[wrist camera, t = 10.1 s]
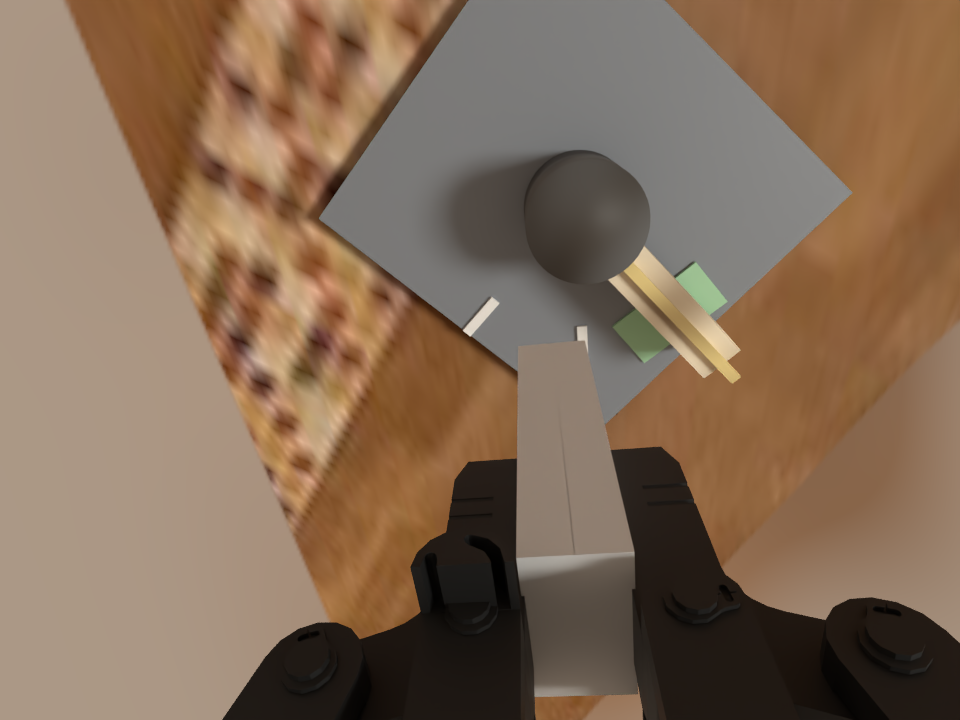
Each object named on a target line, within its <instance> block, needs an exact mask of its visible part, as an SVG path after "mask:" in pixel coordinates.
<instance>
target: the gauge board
mask: <svg viewBox="0 0 960 720" xmlns="http://www.w3.org/2000/svg"><path fill="white" fill-rule="evenodd" d="M573 150H589V151H594V152H597V153H600V154H602V155H604V156H606V157H608V158H609V159H611V160H612V161H614V162H615V163H616V164H618V165H619V166H621V167H622V168H623V169H625V170H626V171H627V172H629V173H630V174H631V175H632V176H633V177H634V178H635V179H636V180H637V181H638V182H639V184H640V185H641V187H642V188H643V190H644V192H645V194H646V197H647V199H648V203H649V207H650V216H651V217H650V229H649V234H648V237H647V240H646V243H645V247H646V248H647V249H648V250H649V251H650V252H651V253H652V254H653V255H654V256H655V257H656V258H657V259H658V260H659V262H660V263H661V264H662V265H663V266H664V267H665V268H666V269H667V270H668V271H669V272H670V273H671V274H672V275H673V277H674V278H675V279H676V280H677V281H678V282H679V283H680V284H681V285H682V286H683V287H684V288H685V289H686V290H687V292H688V293H689V294H690V295H691V296H692V297H693V298H694V299H695V300H696V301H697V302H698V303H699V304H700V305H701V307H702V308H703V309H704V310H705V311H706V312H707V313H708V314H709V315H710V316H711V317H712V318H713V319H714V320H715V321H716V320H717V319H718V318H719V317H720V316H721V315H722V314H724V313H725V312H726V311H727V310H728V309H729V308H730V307H731V306H732V305H733V304H734V303H735V302H736V301H737V300H739V299H740V298H741V297H742V296H743V295H744V294H745V293H746V292H747V291H748V290H749V289H750V288H751V287H752V286H753V285H755V284H756V283H757V282H758V281H759V280H760V279H761V278H762V277H763V276H764V275H765V274H766V273H767V272H768V271H769V270H771V269H772V268H773V267H774V266H775V265H776V264H777V263H778V262H779V261H780V260H781V259H782V258H783V257H784V256H785V255H787V254H788V253H789V252H790V251H791V250H792V249H793V248H794V247H795V246H796V245H797V244H798V243H799V242H800V241H802V240H803V239H804V238H805V237H806V236H807V235H808V234H809V233H810V232H811V231H812V230H813V229H814V228H815V227H816V226H818V225H819V224H820V223H821V222H822V221H823V220H824V219H825V218H826V217H827V216H828V215H829V214H830V213H831V212H832V211H834V210H835V209H836V208H837V207H838V206H839V205H840V204H841V203H842V202H843V201H844V200H845V199H846V198H847V197H848V196H850V195H851V194H852V192H851V191H850V190H849V189H848V188H847V187H846V185H845V184H844V183H843V182H842V181H841V180H840V179H839V178H838V177H837V176H836V175H835V174H834V173H833V172H832V171H831V170H830V169H829V168H828V167H827V166H826V165H825V164H824V163H823V162H822V161H821V160H820V159H819V158H818V157H817V156H816V155H815V154H814V153H813V152H812V151H811V150H810V149H809V148H808V147H807V146H806V145H805V144H804V142H803V141H802V140H801V139H800V138H799V137H798V136H797V135H796V134H795V133H794V132H793V131H792V130H791V129H790V128H789V127H788V126H787V125H786V124H785V123H784V122H783V121H782V120H781V119H780V118H779V117H778V116H777V115H776V114H775V113H774V112H773V111H772V110H771V109H770V108H769V107H768V106H767V105H766V104H765V103H764V102H763V100H762V99H761V98H760V97H759V96H758V95H757V94H756V93H755V92H754V91H753V90H752V89H751V88H750V87H749V86H748V85H747V84H746V83H745V82H744V81H743V80H742V79H741V78H740V77H739V76H738V75H737V74H736V73H735V72H734V71H733V70H732V69H731V68H730V67H729V66H728V65H727V64H726V63H725V62H724V61H723V60H722V59H721V57H720V56H719V55H718V54H717V53H716V52H715V51H714V50H713V49H712V48H711V47H710V46H709V45H708V44H707V43H706V42H705V41H704V40H703V39H702V38H701V37H700V36H699V35H698V34H697V33H696V32H695V31H694V30H693V29H692V28H691V27H690V26H689V25H688V24H687V23H686V22H685V21H684V20H683V19H682V18H681V17H680V15H679V14H678V13H677V12H676V11H675V10H674V9H673V8H672V7H671V6H670V5H669V4H668V3H667V2H666V1H665V0H468V2H467V3H466V5H465V6H464V8H463V9H462V10H461V12H460V13H459V15H458V16H457V18H456V19H455V21H454V22H453V24H452V25H451V26H450V28H449V29H448V31H447V32H446V34H445V35H444V37H443V38H442V40H441V41H440V42H439V44H438V45H437V47H436V48H435V50H434V51H433V53H432V54H431V56H430V57H429V58H428V60H427V61H426V63H425V64H424V66H423V67H422V69H421V70H420V72H419V73H418V75H417V76H416V77H415V79H414V80H413V82H412V83H411V85H410V86H409V88H408V89H407V91H406V92H405V93H404V95H403V96H402V98H401V99H400V101H399V102H398V104H397V105H396V107H395V108H394V109H393V111H392V112H391V114H390V115H389V117H388V118H387V120H386V121H385V123H384V124H383V125H382V127H381V128H380V130H379V131H378V133H377V134H376V136H375V137H374V139H373V140H372V141H371V143H370V144H369V146H368V147H367V149H366V150H365V152H364V153H363V155H362V156H361V157H360V159H359V160H358V162H357V163H356V165H355V166H354V168H353V169H352V171H351V172H350V173H349V175H348V176H347V178H346V179H345V181H344V182H343V184H342V185H341V187H340V188H339V189H338V191H337V192H336V194H335V195H334V197H333V198H332V200H331V201H330V203H329V204H328V205H327V207H326V208H325V210H324V211H323V213H322V214H321V216H320V217H319V219H320V220H321V221H322V222H324V223H325V224H326V225H327V226H329V227H330V228H331V229H333V230H334V231H335V232H337V233H338V234H339V235H340V236H342V237H343V238H344V239H346V240H347V241H348V242H350V243H351V244H352V245H353V246H355V247H356V248H357V249H359V250H360V251H361V252H363V253H364V254H365V255H366V256H368V257H369V258H370V259H372V260H373V261H374V262H376V263H377V264H378V265H379V266H381V267H382V268H383V269H385V270H386V271H387V272H389V273H390V274H391V275H393V276H394V277H395V278H396V279H398V280H399V281H400V282H402V283H403V284H404V285H406V286H407V287H408V288H409V289H411V290H412V291H413V292H415V293H416V294H417V295H419V296H420V297H421V298H422V299H424V300H425V301H426V302H428V303H429V304H430V305H432V306H433V307H434V308H435V309H437V310H438V311H439V312H441V313H442V314H443V315H445V316H446V317H447V318H448V319H450V320H451V321H452V322H454V323H455V324H456V325H458V326H459V327H460V328H461V329H463V331H464V332H465V333H466V334H468V335H469V336H472V337H473V338H475V339H476V340H477V341H478V342H480V343H481V344H482V345H484V346H485V347H486V348H488V349H489V350H490V351H491V352H493V353H494V354H495V355H497V356H498V357H499V358H501V359H502V360H503V361H504V362H506V363H507V364H508V365H510V366H511V367H512V368H514V369H515V370H516V371H517V372H518V346H527V345H538V344H549V343H560V342H571V341H582V340H585V343H586V347H587V352H588V356H589V360H590V364H591V369H592V373H593V377H594V381H595V386H596V390H597V394H598V399H599V403H600V407H601V411H602V416H603V420H604V424H606V423H607V422H608V421H609V420H610V419H611V418H612V417H614V416H615V415H616V414H617V413H618V412H619V411H620V410H621V409H622V408H623V407H624V406H625V405H626V404H627V403H629V402H630V401H631V400H632V399H633V398H634V397H635V396H636V395H637V394H638V393H639V392H640V391H641V390H642V389H643V388H645V387H646V386H647V385H648V384H649V383H650V382H651V381H652V380H653V379H654V378H655V377H656V376H657V375H658V374H659V373H661V372H662V371H663V370H664V369H665V368H666V367H667V366H668V365H669V364H670V363H671V362H672V361H673V360H674V359H675V358H677V357H678V356H679V355H680V353H679V352H678V351H677V350H676V349H675V348H674V347H673V346H672V345H671V344H670V343H669V342H668V341H667V340H666V339H665V338H664V337H663V336H662V335H661V334H660V333H659V332H658V331H657V330H656V328H655V327H654V326H653V325H652V324H651V323H650V322H649V321H648V320H647V319H646V318H645V317H644V316H643V315H642V314H641V313H640V312H639V311H638V310H637V309H636V308H635V307H634V306H633V305H632V304H631V303H630V302H629V301H628V300H627V299H626V298H625V297H624V296H623V295H622V294H621V293H620V292H619V291H618V290H617V289H616V287H615V286H614V285H613V284H612V283H611V282H610V281H609V280H606V281H603V282H599V283H594V284H574V283H569V282H566V281H563V280H560V279H558V278H556V277H554V276H553V275H551V274H550V273H548V272H547V271H546V270H545V269H543V268H542V267H541V265H540V264H539V263H538V262H537V261H536V259H535V258H534V256H533V254H532V252H531V250H530V248H529V245H528V242H527V237H526V230H525V218H524V199H525V194H526V191H527V188H528V185H529V183H530V181H531V179H532V178H533V176H534V174H535V173H536V172H537V171H538V169H539V168H540V167H541V166H542V165H543V164H545V163H546V162H547V161H548V160H550V159H551V158H553V157H555V156H557V155H559V154H562V153H564V152H568V151H573Z"/></svg>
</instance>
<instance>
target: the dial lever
mask: <svg viewBox="0 0 960 720" xmlns="http://www.w3.org/2000/svg"><path fill="white" fill-rule="evenodd" d="M650 217H651V216H650V207H649V203H648V199H647V197H646V194H645V192H644V190H643V188H642V187H641V185H640V184H639V182H638V181H637V180H636V179H635V178H634V177H633V176H632V175H631V174H630V173H629V172H627V171H626V170H625V169H623V168H622V167H621V166H619V165H618V164H616V163H615V162H614V161H612V160H611V159H609V158H608V157H606V156H604V155H602V154H600V153H597V152H594V151H589V150H573V151H568V152H564V153H562V154H559V155H557V156H555V157H553V158H551V159H550V160H548V161H547V162H546V163H545V164H543V165H542V166H541V167H540V168H539V169H538V171H537V172H536V173H535V174H534V176H533V178H532V179H531V181H530V183H529V185H528V188H527V191H526V194H525V199H524V218H525V230H526V237H527V242H528V245H529V248H530V250H531V252H532V254H533V256H534V258H535V259H536V261H537V262H538V263H539V264H540V265H541V267H542V268H543V269H545V270H546V271H547V272H548V273H550V274H551V275H553V276H554V277H556V278H558V279H560V280H563V281H566V282H569V283H574V284H594V283H599V282H603V281H606V280H609V281H610V282H611V283H612V284H613V285H614V286H615V287H616V289H617V290H618V291H619V292H620V293H621V294H622V295H623V296H624V297H625V298H626V299H627V300H628V301H629V302H630V303H631V304H632V305H633V306H634V307H635V308H636V309H637V310H638V311H639V312H640V313H641V314H642V315H643V316H644V317H645V318H646V319H647V320H648V321H649V322H650V323H651V324H652V325H653V326H654V327H655V328H656V330H657V331H658V332H659V333H660V334H661V335H662V336H663V337H664V338H665V339H666V340H667V341H668V342H669V343H670V344H671V345H672V346H673V347H674V348H675V349H676V350H677V351H678V352H679V353H680V354H681V355H682V356H683V357H684V358H685V359H686V360H687V361H688V362H689V363H690V364H691V365H692V366H693V367H694V368H695V369H696V371H697V372H698V373H699V374H700V375H701V376H702V377H703V378H705V377H707V376H708V375H709V374H711V373H712V372H713V371H714V370H716V369H718V370H719V371H720V372H721V373H722V374H723V375H724V376H725V377H726V378H727V379H728V380H729V381H730V382H731V383H734V382H735V381H736V380H738V379H739V378H740V377H741V376H740V375H739V373H738V372H737V371H736V370H735V369H734V368H733V367H732V366H731V365H730V364H729V363H728V362H727V360H729V359H730V358H731V357H733V356H734V355H735V354H736V353H738V352H739V351H740V349H739V348H738V346H737V345H736V344H735V343H734V342H733V341H732V340H731V338H730V337H729V336H728V335H727V334H726V333H725V332H724V330H723V329H722V328H721V327H720V326H719V325H718V324H717V323H716V322H715V320H714V319H713V318H712V317H711V316H710V315H709V314H708V313H707V312H706V311H705V310H704V309H703V308H702V307H701V305H700V304H699V303H698V302H697V301H696V300H695V299H694V298H693V297H692V296H691V295H690V294H689V293H688V292H687V290H686V289H685V288H684V287H683V286H682V285H681V284H680V283H679V282H678V281H677V280H676V279H675V278H674V277H673V275H672V274H671V273H670V272H669V271H668V270H667V269H666V268H665V267H664V266H663V265H662V264H661V263H660V262H659V260H658V259H657V258H656V257H655V256H654V255H653V254H652V253H651V252H650V251H649V250H648V249H647V248H646V247H645V243H646V240H647V237H648V234H649V229H650Z"/></svg>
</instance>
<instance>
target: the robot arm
mask: <svg viewBox="0 0 960 720" xmlns="http://www.w3.org/2000/svg"><path fill="white" fill-rule="evenodd" d="M410 568H411V572H412V576H413V580H414V584H415V589H416V593H417V597H418V601H419V606H420V610H421V612H420V613H419V614H418V615H416V616H415V617H413V618H412V619H410V620H409V621H408V622H406V623H404V624H402V625H400V626H397V627H395V628H393V629H390V630H387V631H384V632H381V633H378V634H375V635H372V636H369V637H366V638H363V639H359V638H358V637H357V635H356V634H355V633H354V632H353V630H352V629H351V628H348V627H346V626H344V625H341V624H339V623H315V624H312V625H309V626H306V627H303V628H300V629H298V630H296V631H295V632H293V633H292V634H290V635H288V636H287V637H285V638H284V639H282V640H281V641H280V642H279V643H278V644H277V645H276V646H275V647H274V648H273V649H272V650H271V651H270V653H269V654H268V655H267V656H266V657H265V659H264V660H263V661H262V663H261V664H260V666H259V667H258V669H257V670H256V672H255V673H254V674H253V676H252V677H251V679H250V680H249V682H248V683H247V685H246V686H245V687H244V689H243V690H242V692H241V693H240V695H239V696H238V698H237V699H236V701H235V702H234V703H233V705H232V706H231V708H230V709H229V711H228V712H227V714H226V715H225V717H224V718H223V720H536V718H535V697H548V696H588V695H625V694H626V695H627V694H638V687H639V692H640V698H641V703H642V708H643V720H960V643H959V642H958V641H957V640H956V639H955V638H953V637H952V636H951V635H950V634H949V633H948V632H947V631H946V630H944V629H943V628H942V627H940V626H939V625H937V624H936V623H935V622H934V621H932V620H931V619H929V618H928V617H927V616H925V615H924V614H922V613H920V612H918V611H915V610H913V609H911V608H909V607H906V606H904V605H902V604H899V603H897V602H892V601H887V600H882V599H876V598H857V599H849V600H847V601H845V602H843V603H841V604H839V605H837V606H835V607H833V609H832V610H831V612H830V614H829V615H828V617H827V619H826V620H822V619H818V618H813V617H808V616H803V615H799V614H794V613H790V612H785V611H782V610H778V609H775V608H772V607H768V606H766V605H764V604H762V603H760V602H758V601H756V600H753V599H751V598H750V597H748V596H747V595H746V594H745V593H744V592H743V591H742V589H741V588H740V586H739V585H738V584H737V583H736V582H735V581H733V580H732V579H731V578H729V577H728V576H726V575H725V573H724V571H723V570H722V568H721V566H720V563H719V561H718V558H717V556H716V553H715V551H714V548H713V546H712V543H711V541H710V538H709V536H708V533H707V531H706V529H705V526H704V524H703V521H702V519H701V516H700V514H699V511H698V509H697V506H696V504H694V499H693V496H692V494H691V491H690V489H689V487H688V486H687V481H686V479H685V476H684V474H683V471H682V469H681V466H680V464H679V462H678V461H676V460H675V459H674V458H673V457H672V456H671V455H670V454H668V453H667V452H666V451H665V450H664V449H663V448H661V447H649V448H635V449H620V450H610V445H609V441H608V437H607V433H606V428H605V424H604V420H603V416H602V411H601V407H600V403H599V399H598V394H597V390H596V386H595V381H594V377H593V373H592V369H591V364H590V360H589V356H588V352H587V347H586V343H585V340H582V341H571V342H560V343H549V344H538V345H527V346H518V425H517V459H504V460H490V461H476V462H468V463H467V465H466V466H465V467H464V468H463V470H462V471H461V472H460V474H459V475H458V476H457V478H456V479H455V482H454V488H453V494H452V503H451V507H450V513H449V520H448V525H447V531H446V533H444V534H442V535H440V536H438V537H436V538H434V539H432V540H430V541H429V542H428V543H427V544H426V545H425V546H424V547H423V548H422V549H421V550H419V551H418V552H417V554H416V556H415V558H414V561H413V563H412V565H411V567H410ZM637 682H638V684H637ZM534 695H535V696H534Z"/></svg>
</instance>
